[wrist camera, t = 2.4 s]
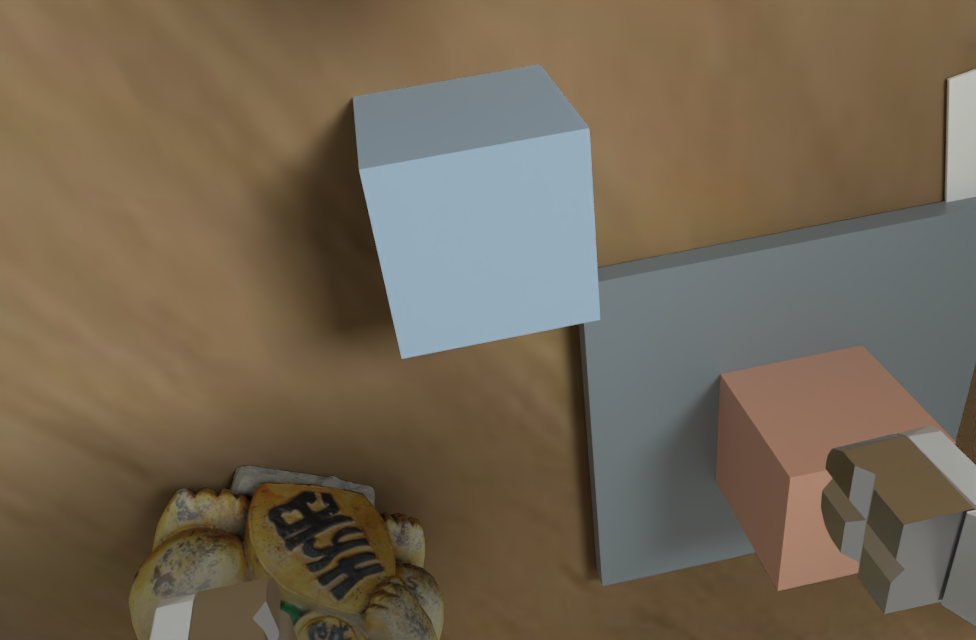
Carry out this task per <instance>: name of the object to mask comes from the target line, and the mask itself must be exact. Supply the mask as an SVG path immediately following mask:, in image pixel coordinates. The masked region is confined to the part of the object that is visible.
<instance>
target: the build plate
mask: <svg viewBox="0 0 976 640" xmlns="http://www.w3.org/2000/svg"><path fill="white" fill-rule="evenodd" d="M597 270H598V287H599V305H600V320H597V321H592V322H586V323H581V324H579V337H580V350H581V364H582V377H583V391H584V404H585V418H586V431H587V445H588V458H589V472H590V485H591V499H592V512H593V526H594V539H595V553H596V566H597V573H598V575H599V578H600V581H601V584H602V587H603V586H607V585H612V584H616V583H621V582H625V581H630V580H634V579H639V578H643V577H648V576H653V575H657V574H662V573H666V572H671V571H675V570H680V569H684V568H689V567H693V566H698V565H702V564H707V563H712V562H716V561H721V560H725V559H730V558H734V557H739V556H743V555H748V554H752V553H756V552H755V550H754V548H753V547H752V545H751V543H750V541H749V540H748V538H747V536H746V534H745V533H744V531H743V529H742V527H741V525H740V524H739V522H738V520H737V518H736V517H735V515H734V513H733V511H732V509H731V508H730V506H729V504H728V502H727V501H726V499H725V497H724V495H723V493H722V492H721V490H720V488H719V486H718V485H717V483H716V463H717V440H718V417H719V394H720V374H723V373H728V372H733V371H738V370H743V369H748V368H753V367H758V366H763V365H768V364H772V363H777V362H782V361H787V360H792V359H797V358H802V357H807V356H812V355H817V354H821V353H826V352H831V351H836V350H841V349H846V348H851V347H856V346H861V345H863V346H864V347H865V348H866V349H867V350H868V352H869V353H870V354H871V355H872V356H873V357H874V358H875V359H876V360H877V361H878V362H879V363H880V364H881V365H882V366H883V367H884V368H885V369H886V370H887V371H888V372H889V373H890V374H891V375H892V376H893V377H894V378H895V379H896V381H897V382H898V383H899V384H900V385H901V386H902V387H903V388H904V389H905V390H906V391H907V392H908V393H909V394H910V395H911V396H912V397H913V398H914V399H915V400H916V401H917V402H918V403H919V404H920V405H921V406H922V407H923V408H924V410H925V411H926V412H927V413H928V414H929V415H930V416H931V417H932V418H933V419H934V420H935V421H936V422H937V423H938V424H939V425H940V426H941V427H942V428H943V429H944V430H945V431H946V432H947V433H948V434H949V435H950V436H951V437H952V439H953V440H954V441H955V442H956V438H957V434H958V430H959V427H960V423H961V419H962V415H963V411H964V407H965V403H966V400H967V396H968V392H969V388H970V384H971V380H972V376H973V373H974V369H975V365H976V197H972V198H967V199H961V200H956V201H951V202H945V201H942V202H937V203H932V204H927V205H922V206H916V207H911V208H906V209H901V210H896V211H890V212H885V213H880V214H875V215H870V216H864V217H859V218H854V219H849V220H844V221H838V222H833V223H828V224H823V225H818V226H812V227H807V228H802V229H797V230H792V231H786V232H781V233H776V234H771V235H766V236H761V237H755V238H750V239H745V240H740V241H735V242H729V243H724V244H719V245H714V246H709V247H703V248H698V249H693V250H688V251H683V252H677V253H672V254H667V255H662V256H657V257H651V258H646V259H641V260H636V261H631V262H626V263H620V264H615V265H610V266H605V267H600V268H597Z"/></svg>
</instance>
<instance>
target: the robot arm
mask: <svg viewBox="0 0 976 640" xmlns="http://www.w3.org/2000/svg"><path fill="white" fill-rule="evenodd" d="M825 469H826V470H827V471H828V473H829V474H830V475H831V477H832V480H831V481H830V482H829V483H828V484H827V485H826V487H825V488H824V489H823V490H822V498H821V511H822V515H823V520H824V524H825V527H826V529H827V531H828V533H829V535H830V537H831V539H832V541H833V542H834V544H835V545H836V547H837V548H838V550H839V551H840V553H842V554H844V555H846V556H848V557H850V558H852V559H854V560H856V561H858V562H859V570H858V578H859V579H860V581H861V582H862V584H863V585H864V586H865V588H866V589H867V591H868V592H869V593H870V595H871V596H872V598H873V599H874V600H875V602H876V603H877V605H878V606H879V607H880V609H881V610H882V612H883V613H884V614H887V613H892V612H896V611H901V610H905V609H910V608H915V607H919V606H924V605H929V604H933V603H938V602H942V604H941V605H942V606H944V607H946V608H947V609H949V610H950V611H952V612H953V613H955V614H957V615H958V616H960V617H961V618H963V619H965V620H966V621H968V622H969V623H971V624H973V625H974V626H976V465H975V464H974V463H973V462H972V461H971V460H970V459H969V458H968V457H967V456H966V455H965V454H964V453H963V452H962V451H961V450H960V449H959V448H958V447H957V446H956V445H955V444H954V443H953V442H952V441H951V440H950V439H948V438H947V437H946V436H945V435H944V434H943V433H942V432H941V431H940V430H939V429H937V428H935V427H933V426H926V427H921V428H917V429H913V430H908V431H904V432H900V433H897V434H890V435H886V436H882V437H878V438H874V439H869V440H865V441H861V442H857V443H853V444H849V445H844V446H840V447H836V448H832V450H831V451H830V452H829V454H828V455H827V460H826V467H825ZM280 602H281V593H280V591H279V588H278V586H277V584H276V582H275V580H274V578H271V577H269V578H264V579H259V580H254V581H249V582H244V583H239V584H234V585H229V586H224V587H219V588H214V589H209V590H204V591H199V592H197V593H192V594H187V595H182V596H177V597H172V598H168V599H163V600H161V601H160V603H159V605H158V607H157V608H156V610H155V613H154V618H153V623H152V628H151V633H150V638H149V640H297V637H296V633H295V629H294V626H293V623H292V620H291V618H290V615H289V614H288V613H286V612H284V611H282V610H280Z"/></svg>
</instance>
